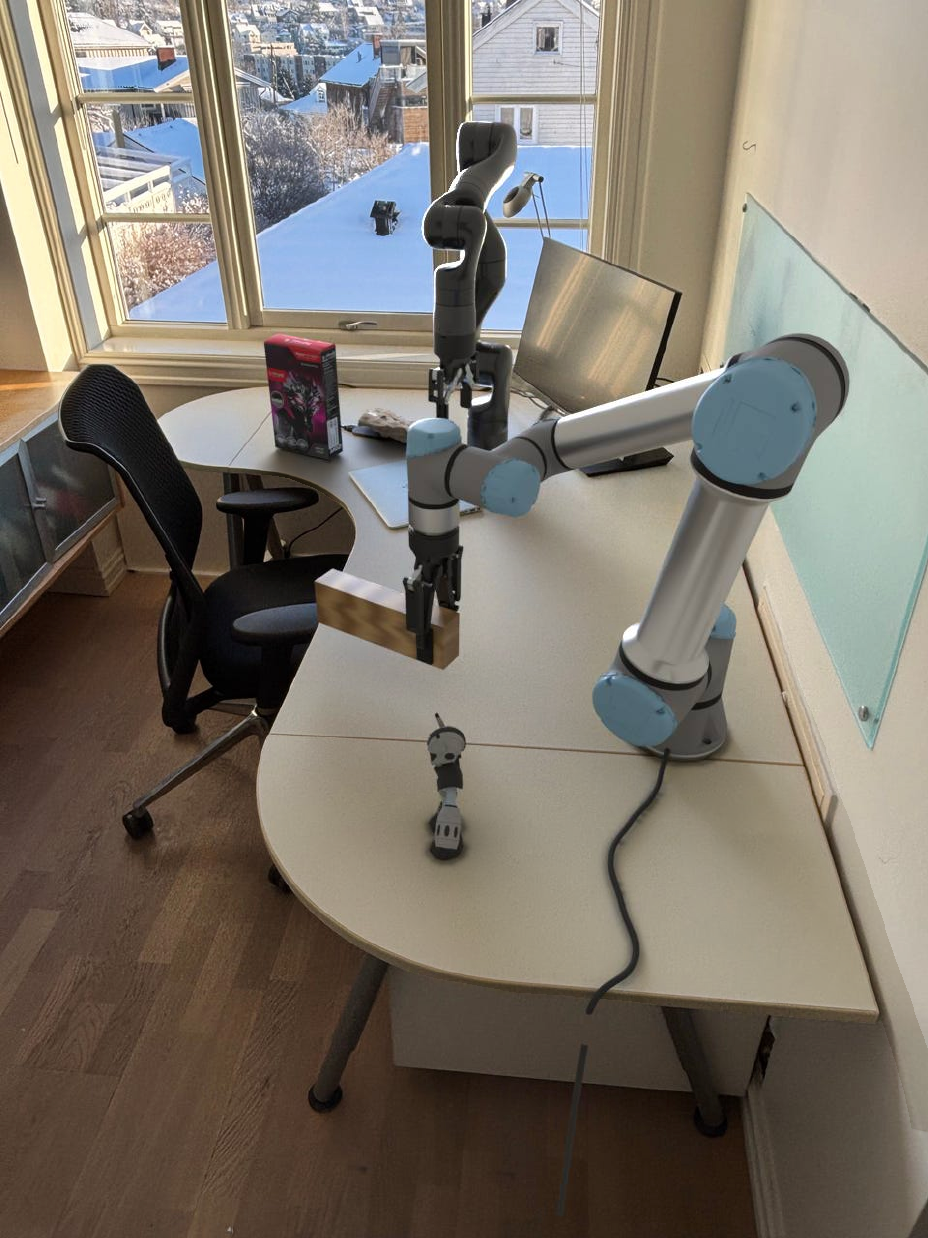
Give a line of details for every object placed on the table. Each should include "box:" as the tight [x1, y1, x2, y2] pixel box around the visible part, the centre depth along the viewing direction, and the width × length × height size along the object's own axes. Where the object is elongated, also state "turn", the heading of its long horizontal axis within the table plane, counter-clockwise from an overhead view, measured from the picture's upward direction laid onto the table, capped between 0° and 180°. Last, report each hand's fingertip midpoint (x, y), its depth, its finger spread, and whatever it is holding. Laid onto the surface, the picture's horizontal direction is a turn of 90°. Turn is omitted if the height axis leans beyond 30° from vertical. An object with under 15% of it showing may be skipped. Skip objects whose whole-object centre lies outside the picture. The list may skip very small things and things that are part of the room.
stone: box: [357, 407, 419, 444], centre depth 236 cm, size 21×15×6 cm
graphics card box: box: [263, 333, 344, 460], centre depth 223 cm, size 17×7×27 cm, turn 62°
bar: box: [314, 568, 461, 671], centre depth 150 cm, size 25×5×8 cm, turn 59°
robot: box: [426, 712, 467, 861], centre depth 119 cm, size 20×5×20 cm, turn 3°
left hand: (454, 414), depth 172 cm, fingers open, 8 cm apart
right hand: (434, 652), depth 148 cm, fingers closed on bar, 5 cm apart
